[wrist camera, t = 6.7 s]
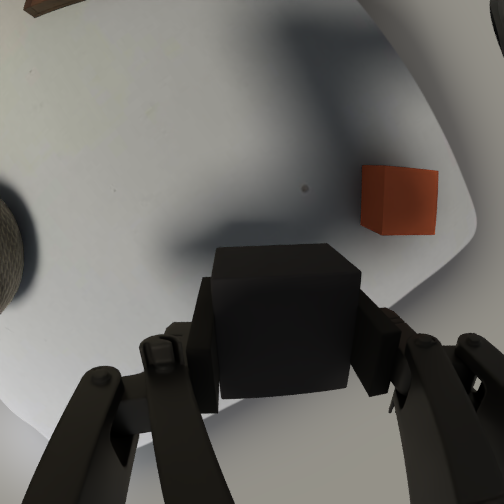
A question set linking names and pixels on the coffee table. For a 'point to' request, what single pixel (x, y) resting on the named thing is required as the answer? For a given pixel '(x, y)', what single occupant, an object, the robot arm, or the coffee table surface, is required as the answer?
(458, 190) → the coffee table surface
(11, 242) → the planter
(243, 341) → the black cube
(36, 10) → the frame
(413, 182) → the orange block
